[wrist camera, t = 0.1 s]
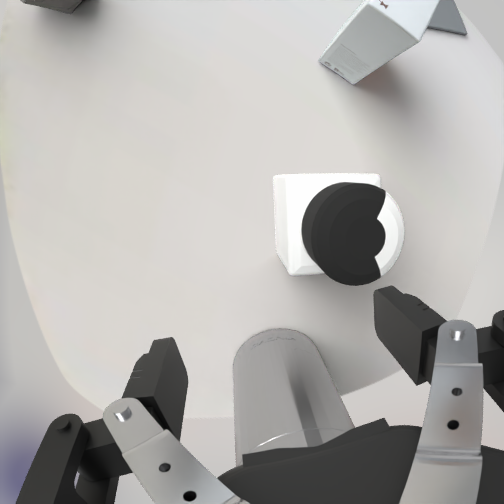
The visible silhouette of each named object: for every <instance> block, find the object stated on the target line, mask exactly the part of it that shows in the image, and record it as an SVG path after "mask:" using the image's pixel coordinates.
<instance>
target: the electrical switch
mask: <svg viewBox="0 0 504 504" xmlns="http://www.w3.org/2000/svg"><path fill="white" fill-rule="evenodd" d="M21 1H22V2H23V3H25V4H30V5H35V6H40V7H44V8H49V9H53V10H57V11H61V12H65V13H68V14H71V13H72V12H73V11H74V9H75V8H76V7H77V5H79V4H80V3H81V2H82V0H21ZM25 1H26V2H25Z"/></svg>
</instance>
